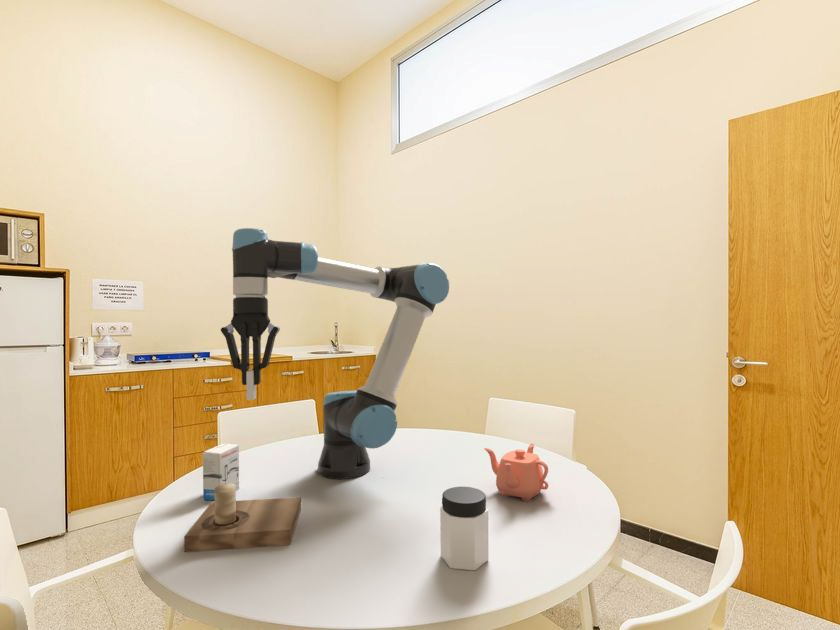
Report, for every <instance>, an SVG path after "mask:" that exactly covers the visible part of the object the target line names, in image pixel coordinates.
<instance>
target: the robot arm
mask: <svg viewBox="0 0 840 630" xmlns="http://www.w3.org/2000/svg"><path fill="white" fill-rule="evenodd" d="M317 249H318V248H316V246H315V245H314V244H312V243H304V242H303V241H302V242H293V241H284V240H283V241H282V240H280V241H279V240H272V239H269V237H268V233H267V231H266V230H264V229H259V228H250V227H249V228H248V227H245V228H237V229H236V230H234V232H233V236H232V248H231V251H232V273H233V274H232V295H233V296H235V297H233V299H232V317H231V321H230V323H229V324H227V325H226V326H222V327H221V328H220V333H221V334H222V335H223V336H224V338H225V342H226V345H227V349H228V352H229V357H230V360H231V363H232V367H233V369H235V370H239V371H241V384H242V386H246V401H254V400H255V399H257V385H260V384H261V381H262V380H261V371H262V369H265V368H268V367H269V365H270V360H271V357H272V353H273V348H274V344H275V340H276V336H277V335H278V334H279V332H280V330H281V328H280V326H276V325H275V324H273V323H272V322H271V319H270V318H269V304H268V303H269V299H268V298H267V297H266V296H268V293H269V292H268V287H269V286H268V284H269V283H268V278H270V279H276V278H280V279H285V280H292V281H293V280H294V281H298V282H304V283H310V284H316V285H322V286H327V287H332V288H337V289H338V288H339V289H344V290H349V291H356V292H362V293H366V294H370V296H371V297H372V298H376V299H380V300H386V301H388V302H393V303H395V305H396V309H395V312H394V314H393V316H392V319H391V322H390V324H389V326H388V329H387V332H386V334H385V335H384V339H383V342H382V343H381V346H380V349H379V351H378V353H377V355H376V358H375V361H374V363H373V365H372V368H371V370H370V373H369V375H368V378H367V380H366V383H365V384H364V385H363V386H360V387H358V388H357V390H355V389H354V390H344V391H343V390H342V391H334V392H328V393H326V394H325V395H324V396H323V403H322V408H323V446H322V449H321V454H320V457H319V460H318V462H317V473H318V475H320V476H322V477H324V478H328V479H335V480H336V479H337V480H338V479H342V480H343V479H352V478H357V477H360V476H363V475H365V474H368V472H370V469H371V460H370V457H369V453H368V451H367V449H379V448H380V447H382V446H385V445H386V444H388V443H389V442H390V441H391V440H392V438H393V437H394V435H395V434H396V432H397V431H396V430H397V428H398V419H397V415H396V412H395V411H396V408H397V406H398V403H397V400H396V398H395V397H396V393H397V391H398V388H399V386H400V382H401V380H402V378H403V375H404V373H405V371H406V369H407V368H406V367H407V365H408V362H409V360H410V357H411V355H412V352H413V350H414V348H415V344H416V343H417V339H418V338H419V337H418V336H419V335H420V332H421V328H422V326H423V324H424V321H425V319H426V318H428V317H431V316H432V315H433V312H434V311H435V307H436V305H438V304H441V303H442V302H444V301H445V300H446V299H447V297H448V295H449V292H450V281H449V279H448V275H447V273H446V272H445V270H444V269H443V268H442V267H441V266H440V265H439V264H436V263H433V262H429V263H428V262H421V263H419V264H414V265H413V264H412V265H407V266H400V267H383V266H377V267H375V268H372V267H367V266H363V265H362V266H361V265H357V264H353V263H347V262H343V261H339V260H333V259H329V258H325V257H320V256H319V254H318V253H319V252H318V250H317ZM267 328H268V330H267ZM266 330H267V333H268V336H267V340H266V344H265V348H264V352H263V357H262V354H261V353H262V351H261V347H262V346H261V343H262V342H261V340H262V335H263V334H264V333H265V332H266ZM235 331H236V332H237V334H238V336H240V347H241V348H240V353H241V354H239V351H238V347H237V344H236V343H237V342H236V339H235V335H234V332H235ZM250 338H251V339H250ZM250 340H252V369H251V367H250Z"/></svg>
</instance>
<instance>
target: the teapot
mask: <svg viewBox="0 0 840 630" xmlns="http://www.w3.org/2000/svg"><path fill="white" fill-rule="evenodd" d="M534 447H535V444H534V443H530V444H529V445H528V447H527V449H526V450H524V449H521V448H519V449H515V450H511V451H509V452H506V453H505V454H504V455H502V456H501V459H500V461H499V462H498V460H497V457H496V454H495V452H494V451H493V450H492V449H490V448H487V447H484V448H483V450H484V451H486V452H487V454H488V455H489V458H490V459H489V460H490V465H491V470H492V472H493V473H494V474H495V476H496V477H495V478H496V480H495V486H496V488H497V490H498V493H501V494H502V496H503V497H511V496H512V497H517V498H522V499H521V500H522V501H524V502H525V501H526V502H531V501H532V498H533V497H535V496H537V495H538V494H539V493H540V492H541V491H543V490H544V491H545V490H547V489H549V483H548V482H547V481H545V480H546V478H547V476H548V473H549V466H548V465H547V463H546V462H545V461H543V460H540V457H539V455H538V454H536V453H534ZM543 469H544V470H543Z"/></svg>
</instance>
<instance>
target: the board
mask: <svg viewBox="0 0 840 630" xmlns="http://www.w3.org/2000/svg"><path fill="white" fill-rule="evenodd" d="M301 512H302V497H301V496H298V497H279V498H262V499H247V500H246V499H245V500H244V499H243V500H236V522H235V523H234V524H231V525H227V526H215V501H212V502H210V504H209V505H208V506H207V508H205V510H204V511H203V512H202V514H201V515H200V516H199V517H198V518H197V520H196V521H195V522H194V524H193V525H192V526H191V527H190V529H189V530H188V531H187V532H186V534H185V535H184V536H183V537H184V539H183V540H184V541H183V545H184V547H183V549H184V551H183V552H184V553H188V552H190V553H191V552H201V551H214V550H215V551H216V550H217V551H218V550H231V549H233V550H234V549H244V548H245V549H246V548H258V547H259V548H260V547H261V548H262V547H272V546H273V547H274V546H285V545H286V546H287V545H291V544H292V542H293V537H294V535H295V531H296V528H297V525H298V522H299V518H300V514H301Z"/></svg>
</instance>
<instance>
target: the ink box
mask: <svg viewBox="0 0 840 630" xmlns="http://www.w3.org/2000/svg"><path fill="white" fill-rule="evenodd" d="M228 483H231V484H235V485H236V491H238V490H239V489H240V445H239V444H233V443H221V444H219V445H216V446H214V447H211V448H209V449H207V450H205V451H204V452H202V486H203V487H202V491H203V493H202V494H203V497H202V499H203V500H209V501H210V500H212V501H215V487H217V486H219V485H222V484H228Z"/></svg>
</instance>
